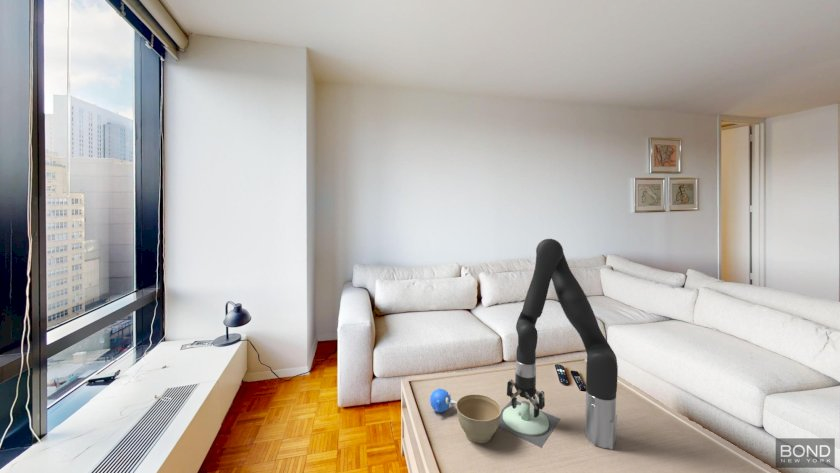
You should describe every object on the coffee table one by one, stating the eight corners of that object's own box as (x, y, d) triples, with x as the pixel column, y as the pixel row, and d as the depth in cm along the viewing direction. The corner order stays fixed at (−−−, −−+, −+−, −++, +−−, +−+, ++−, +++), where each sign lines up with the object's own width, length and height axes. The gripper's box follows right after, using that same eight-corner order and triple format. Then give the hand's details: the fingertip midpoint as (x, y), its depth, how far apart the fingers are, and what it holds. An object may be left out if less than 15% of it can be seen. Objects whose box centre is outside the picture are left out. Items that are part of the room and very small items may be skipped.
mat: (560, 419, 123) (560, 418, 123) (541, 448, 108) (541, 447, 108) (512, 400, 137) (512, 399, 137) (489, 423, 122) (489, 422, 122)
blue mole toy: (455, 422, 122) (455, 402, 122) (426, 416, 126) (426, 396, 126) (461, 404, 134) (461, 385, 133) (434, 400, 138) (434, 381, 137)
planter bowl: (506, 451, 108) (506, 420, 107) (458, 451, 108) (458, 420, 107) (495, 420, 124) (495, 393, 123) (454, 420, 124) (454, 393, 123)
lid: (555, 418, 123) (555, 401, 123) (538, 443, 111) (538, 424, 110) (514, 402, 135) (514, 386, 134) (494, 422, 122) (494, 404, 121)
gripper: (547, 374, 119) (546, 415, 121) (512, 362, 129) (512, 400, 130) (540, 382, 114) (539, 425, 115) (504, 369, 123) (503, 409, 124)
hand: (524, 412), depth 123 cm, fingers open, 8 cm apart
